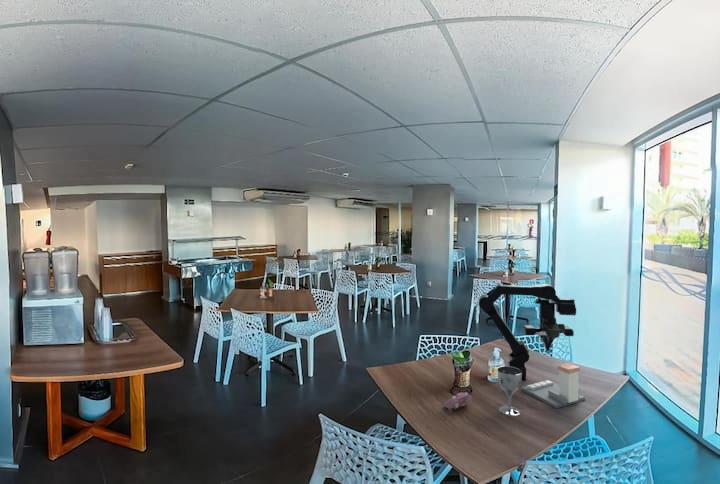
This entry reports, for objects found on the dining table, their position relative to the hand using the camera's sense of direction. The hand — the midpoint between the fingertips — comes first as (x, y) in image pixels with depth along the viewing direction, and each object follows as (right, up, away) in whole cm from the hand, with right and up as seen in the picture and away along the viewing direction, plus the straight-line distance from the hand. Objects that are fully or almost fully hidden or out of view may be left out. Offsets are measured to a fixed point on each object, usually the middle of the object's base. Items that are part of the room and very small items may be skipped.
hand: (547, 350), depth 153 cm
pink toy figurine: (-43, -15, -20) cm, 50 cm away
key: (-2, -12, -19) cm, 23 cm away
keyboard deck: (-4, -14, -12) cm, 19 cm away
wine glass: (-26, -15, -23) cm, 38 cm away
